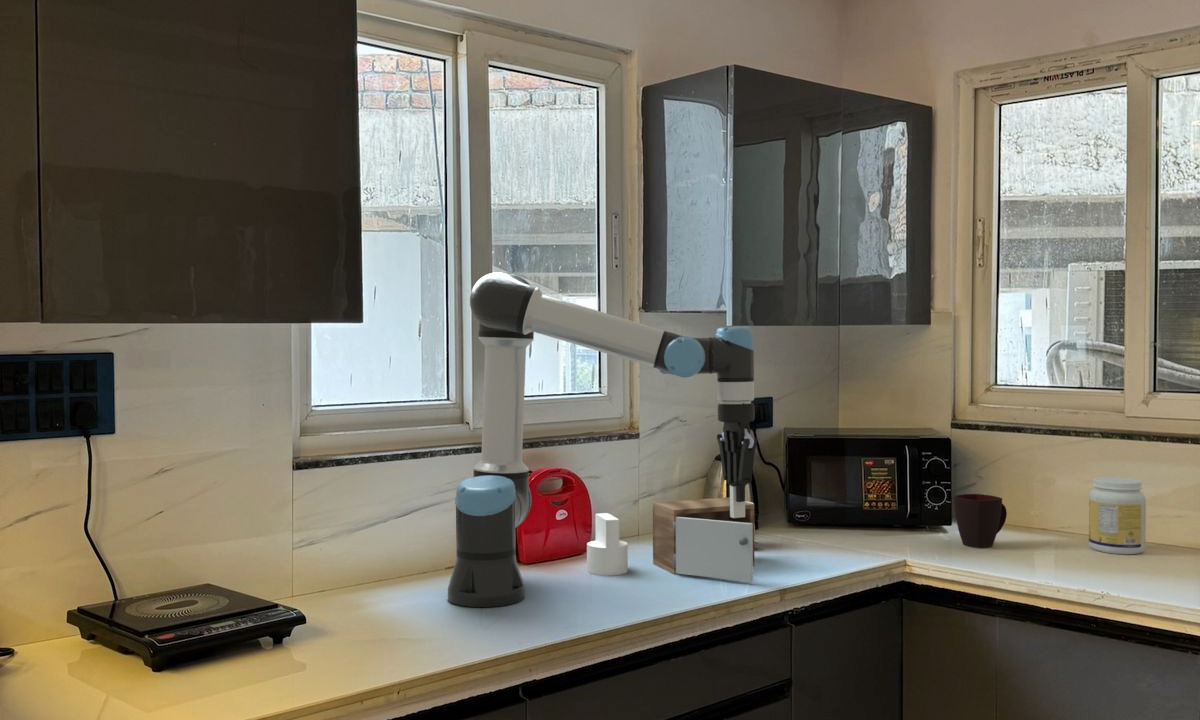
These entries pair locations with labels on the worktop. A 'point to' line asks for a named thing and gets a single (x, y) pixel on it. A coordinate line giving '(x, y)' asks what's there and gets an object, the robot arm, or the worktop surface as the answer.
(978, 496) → the mug
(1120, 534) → the supplement tub
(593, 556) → the base with upright slab
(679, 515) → the cabinet
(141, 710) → the worktop surface
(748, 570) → the door
